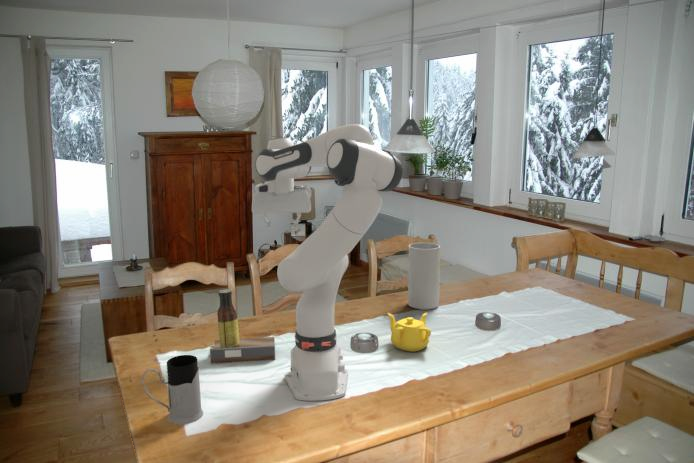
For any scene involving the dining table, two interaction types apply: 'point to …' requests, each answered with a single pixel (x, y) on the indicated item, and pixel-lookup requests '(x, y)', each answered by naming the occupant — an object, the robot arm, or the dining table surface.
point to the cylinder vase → (423, 275)
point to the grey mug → (182, 389)
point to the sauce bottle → (227, 321)
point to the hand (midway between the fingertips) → (282, 226)
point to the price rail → (242, 352)
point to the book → (246, 343)
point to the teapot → (409, 333)
